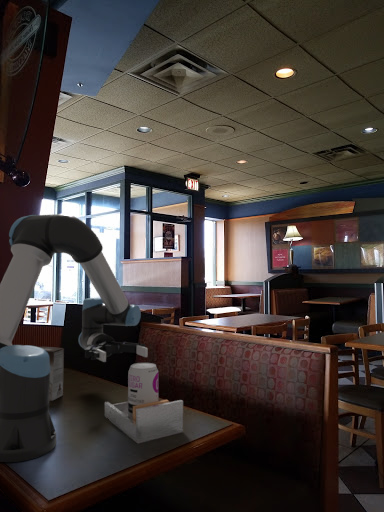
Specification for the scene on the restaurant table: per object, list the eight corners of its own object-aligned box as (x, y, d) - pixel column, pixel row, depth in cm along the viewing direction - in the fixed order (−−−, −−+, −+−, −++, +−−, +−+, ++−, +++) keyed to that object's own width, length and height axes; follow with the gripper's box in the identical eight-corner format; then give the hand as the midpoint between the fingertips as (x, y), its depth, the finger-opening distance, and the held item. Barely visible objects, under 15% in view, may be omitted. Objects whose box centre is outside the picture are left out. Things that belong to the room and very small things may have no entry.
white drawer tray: (104, 416, 115) (104, 388, 116) (145, 407, 122) (145, 381, 123) (137, 443, 97) (137, 410, 97) (182, 431, 104) (183, 400, 104)
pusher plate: (132, 428, 103) (132, 406, 103) (166, 420, 108) (166, 399, 109) (134, 430, 102) (134, 407, 102) (168, 422, 107) (168, 400, 108)
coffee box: (28, 398, 131) (29, 349, 132) (40, 393, 137) (41, 346, 138) (52, 401, 129) (53, 351, 130) (64, 395, 135) (64, 347, 136)
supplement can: (160, 416, 113) (160, 362, 113) (154, 427, 105) (155, 369, 105) (132, 415, 114) (132, 361, 114) (124, 426, 105) (125, 368, 106)
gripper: (134, 352, 145) (162, 362, 127) (64, 359, 131) (85, 372, 114) (134, 331, 145) (162, 339, 127) (65, 336, 132) (86, 345, 114)
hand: (126, 354), depth 120 cm, fingers open, 13 cm apart
